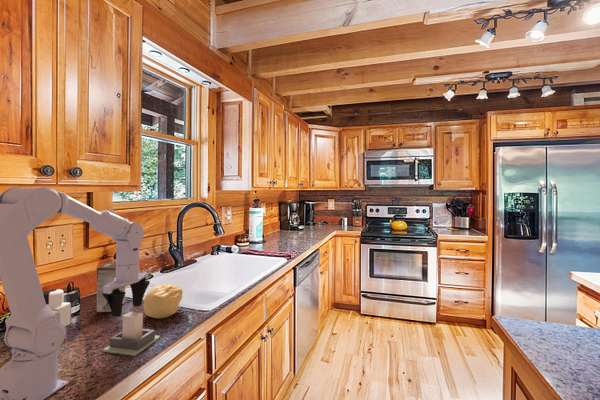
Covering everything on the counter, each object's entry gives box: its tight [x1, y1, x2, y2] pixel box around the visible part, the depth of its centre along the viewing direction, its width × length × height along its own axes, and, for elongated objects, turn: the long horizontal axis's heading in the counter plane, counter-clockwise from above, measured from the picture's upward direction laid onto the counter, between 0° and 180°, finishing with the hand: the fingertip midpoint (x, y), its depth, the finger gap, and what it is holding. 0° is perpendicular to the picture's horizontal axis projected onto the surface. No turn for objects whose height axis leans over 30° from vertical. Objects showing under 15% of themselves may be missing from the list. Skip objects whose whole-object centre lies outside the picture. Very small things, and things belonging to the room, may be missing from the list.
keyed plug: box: [121, 311, 144, 339], centre depth 83 cm, size 3×5×8 cm, turn 79°
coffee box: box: [96, 261, 126, 313], centre depth 109 cm, size 9×6×16 cm
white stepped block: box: [42, 288, 72, 327], centre depth 91 cm, size 7×7×12 cm
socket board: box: [102, 328, 161, 357], centre depth 83 cm, size 10×10×3 cm
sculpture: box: [143, 283, 183, 319], centre depth 103 cm, size 12×12×11 cm
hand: (127, 310), depth 83 cm, fingers open, 7 cm apart
